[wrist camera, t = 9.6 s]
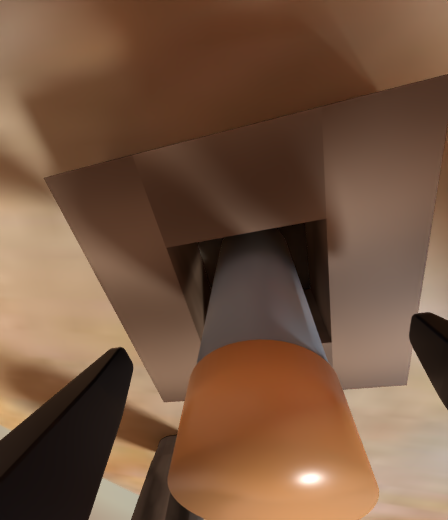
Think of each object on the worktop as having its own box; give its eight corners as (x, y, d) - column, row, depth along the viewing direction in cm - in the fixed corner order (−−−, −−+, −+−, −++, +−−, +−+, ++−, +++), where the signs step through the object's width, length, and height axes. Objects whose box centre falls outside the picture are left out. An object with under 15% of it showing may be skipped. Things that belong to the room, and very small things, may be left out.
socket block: (369, 324, 15) (406, 385, 12) (180, 345, 17) (164, 402, 14) (379, 91, 10) (455, 72, 6) (104, 162, 12) (43, 177, 8)
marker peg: (293, 277, 14) (373, 536, 5) (226, 287, 15) (198, 532, 6) (285, 212, 12) (386, 433, 3) (210, 227, 13) (136, 443, 4)
